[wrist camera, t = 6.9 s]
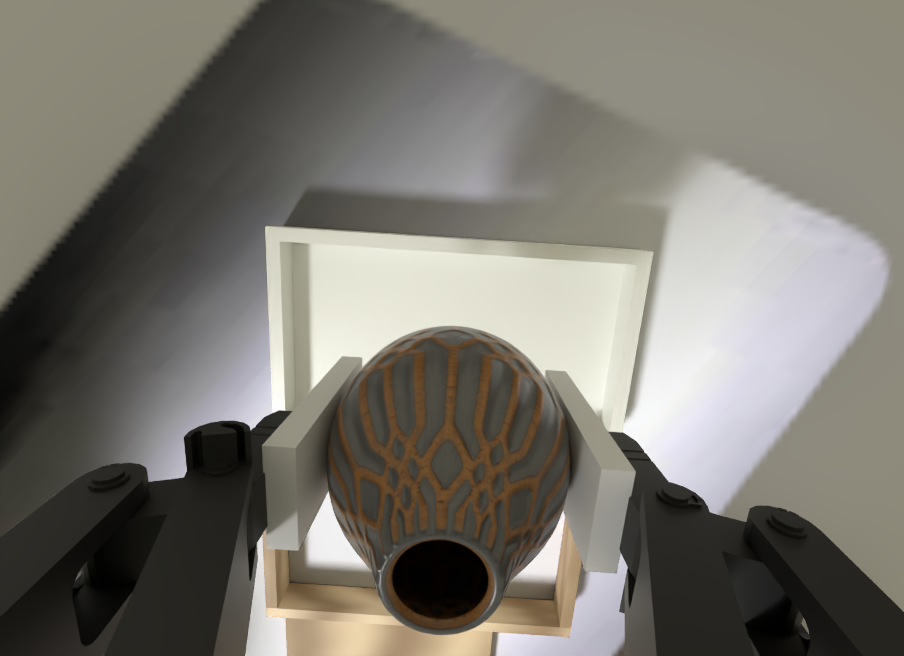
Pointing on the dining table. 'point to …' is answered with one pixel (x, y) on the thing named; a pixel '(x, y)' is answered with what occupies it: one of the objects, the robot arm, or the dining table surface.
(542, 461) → the vase
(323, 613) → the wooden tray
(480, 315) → the off-white tray
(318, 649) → the lid
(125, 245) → the dining table surface
